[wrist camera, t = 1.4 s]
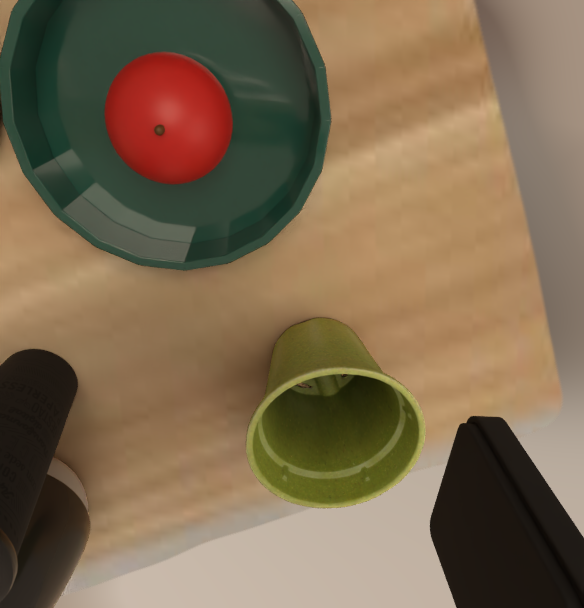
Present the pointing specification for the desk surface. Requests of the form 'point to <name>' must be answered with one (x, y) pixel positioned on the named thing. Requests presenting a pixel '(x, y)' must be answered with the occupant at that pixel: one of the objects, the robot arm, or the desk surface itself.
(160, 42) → the pot
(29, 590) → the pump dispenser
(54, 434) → the drinking cup
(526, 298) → the desk surface
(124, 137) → the apple
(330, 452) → the plant pot
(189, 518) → the desk surface
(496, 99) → the desk surface
